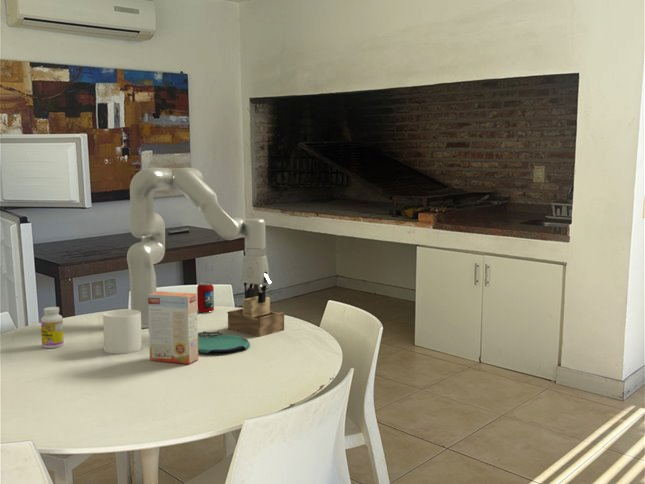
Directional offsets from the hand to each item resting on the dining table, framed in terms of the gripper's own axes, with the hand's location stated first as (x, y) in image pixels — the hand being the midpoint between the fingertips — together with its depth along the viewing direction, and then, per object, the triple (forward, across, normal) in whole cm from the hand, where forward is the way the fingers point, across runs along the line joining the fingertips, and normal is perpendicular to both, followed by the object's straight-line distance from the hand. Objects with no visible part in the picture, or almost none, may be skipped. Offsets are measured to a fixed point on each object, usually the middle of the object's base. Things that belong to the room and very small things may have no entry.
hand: (256, 301), depth 229 cm
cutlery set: (+11, +2, -23) cm, 25 cm away
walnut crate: (+11, 0, 0) cm, 11 cm away
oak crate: (+5, 0, 0) cm, 5 cm away
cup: (+11, -15, -46) cm, 50 cm away
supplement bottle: (+10, -36, -59) cm, 70 cm away
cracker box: (+11, +8, -43) cm, 45 cm away
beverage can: (+11, -38, +8) cm, 40 cm away
